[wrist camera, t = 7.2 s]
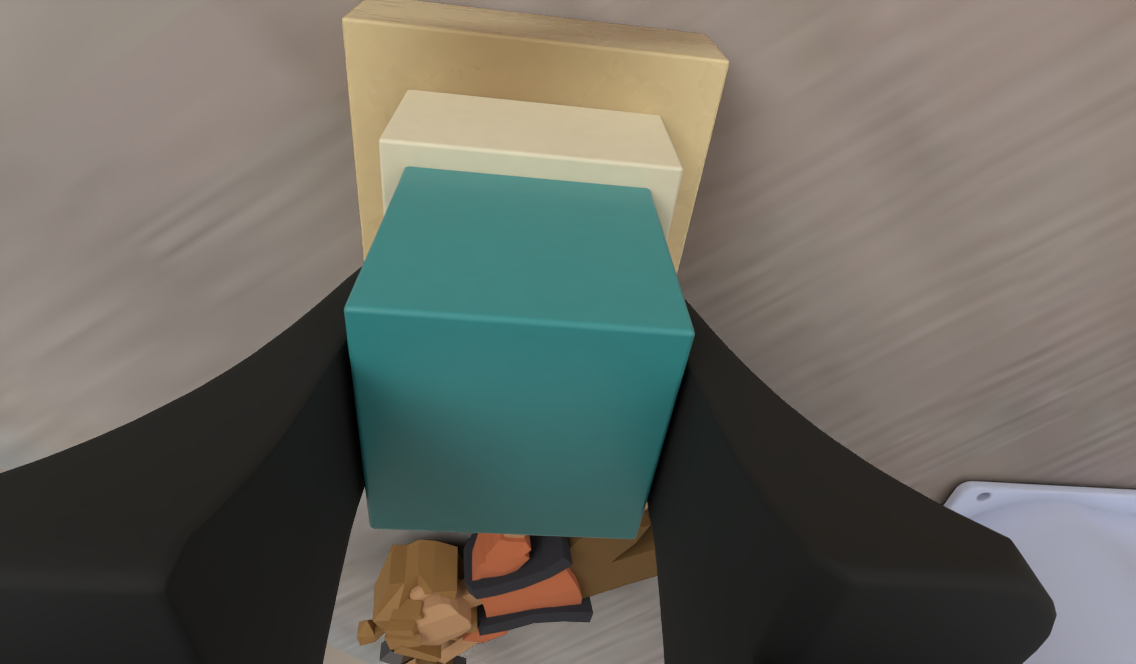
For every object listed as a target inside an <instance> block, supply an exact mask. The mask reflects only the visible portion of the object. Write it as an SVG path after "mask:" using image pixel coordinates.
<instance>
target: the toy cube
mask: <svg viewBox="0 0 1136 664" xmlns="http://www.w3.org/2000/svg"><path fill="white" fill-rule="evenodd" d="M344 316H345V324H346V332H347V341H348V349H349V357H350V365H351V374H352V382H353V390H354V399H355V407H356V415H357V424H358V432H359V440H360V448H361V457H362V465H363V473H364V482H365V490H366V498H367V507H368V515H369V523H370V527H371V528H374V529H393V530H417V531H441V532H466V533H490V534H515V535H539V536H564V537H588V538H613V539H635V538H636V537H637V534H638V530H639V527H640V523H641V520H642V516H643V513H644V510H645V506H646V503H647V499H648V496H649V492H650V489H651V485H652V482H653V478H654V475H655V471H656V468H657V464H658V461H659V457H660V454H661V450H662V447H663V443H664V440H665V437H666V433H667V430H668V426H669V423H670V419H671V416H672V412H673V409H674V405H675V402H676V398H677V395H678V391H679V388H680V384H681V381H682V377H683V374H684V370H685V367H686V364H687V360H688V357H689V353H690V350H691V346H692V343H693V339H694V336H695V332H694V328H693V325H692V322H691V319H690V316H689V312H688V309H687V306H686V303H685V300H684V297H683V293H682V290H681V287H680V284H679V281H678V277H677V274H676V271H675V268H674V265H673V261H672V258H671V255H670V252H669V249H668V245H667V242H666V239H665V236H664V233H663V230H662V226H661V223H660V220H659V217H658V214H657V210H656V207H655V204H654V201H653V198H652V194H651V191H650V190H649V189H647V188H639V187H628V186H617V185H606V184H595V183H584V182H574V181H563V180H552V179H541V178H530V177H519V176H508V175H497V174H486V173H475V172H464V171H454V170H443V169H432V168H421V167H410V166H409V167H405V169H404V171H403V174H402V176H401V178H400V181H399V183H398V185H397V188H396V190H395V192H394V194H393V197H392V199H391V201H390V204H389V206H388V208H387V211H386V213H385V215H384V217H383V220H382V222H381V224H380V227H379V229H378V231H377V234H376V236H375V238H374V240H373V243H372V245H371V247H370V250H369V252H368V254H367V257H366V259H365V261H364V264H363V266H362V268H361V270H360V273H359V275H358V277H357V280H356V282H355V284H354V287H353V289H352V291H351V293H350V296H349V298H348V300H347V303H346V305H345V307H344Z"/></svg>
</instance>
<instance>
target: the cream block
mask: <svg viewBox="0 0 1136 664" xmlns="http://www.w3.org/2000/svg"><path fill="white" fill-rule="evenodd" d="M379 155H380V170H381V185H382V199H383V214H384V215H385V213H386V211H387V208H388V206H389V204H390V201H391V199H392V197H393V194H394V192H395V190H396V188H397V185H398V183H399V181H400V178H401V176H402V174H403V171H404V169H405V167H409V166H410V167H421V168H432V169H443V170H454V171H464V172H475V173H486V174H497V175H508V176H519V177H530V178H541V179H552V180H563V181H574V182H584V183H595V184H606V185H617V186H628V187H639V188H647V189H649V190H650V191H651V194H652V198H653V201H654V204H655V207H656V210H657V214H658V217H659V220H660V223H661V226H662V230H663V233H664V236H665V239H666V242H667V240H668V235H669V231H670V227H671V222H672V218H673V214H674V209H675V205H676V201H677V196H678V192H679V187H680V183H681V179H682V174H683V167H682V165H681V162H680V160H679V158H678V156H677V153H676V151H675V149H674V146H673V144H672V142H671V140H670V137H669V135H668V133H667V130H666V128H665V126H664V124H663V121H662V119H661V117H660V116H659V115H652V114H643V113H633V112H623V111H614V110H604V109H594V108H585V107H575V106H565V105H555V104H546V103H536V102H526V101H517V100H507V99H497V98H487V97H478V96H468V95H458V94H449V93H439V92H429V91H419V90H407V92H406V94H405V95H404V97H403V99H402V101H401V102H400V104H399V106H398V108H397V109H396V111H395V113H394V115H393V116H392V118H391V120H390V122H389V123H388V125H387V127H386V129H385V130H384V132H383V134H382V136H381V137H380V139H379Z"/></svg>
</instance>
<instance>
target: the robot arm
mask: <svg viewBox="0 0 1136 664" xmlns="http://www.w3.org/2000/svg"><path fill="white" fill-rule="evenodd" d="M361 268H362V267H361ZM361 268H359V269H358V270H357V271H356V272H355V273H353V274H352V275H351V276H350V277H348V278H347V279H346V280H345V281H344V282H343V283H341V284H340V285H339V286H338V287H337V288H336V289H335V290H333V291H332V292H331V293H330V294H329V295H328V296H327V297H325V298H324V299H323V300H322V301H321V302H320V303H318V304H317V305H316V306H315V307H314V308H312V309H311V310H310V311H309V312H308V313H306V314H305V315H304V316H303V317H301V318H300V319H299V320H298V321H297V322H295V323H294V324H293V325H292V326H291V327H289V328H288V329H287V330H285V331H284V332H282V333H281V334H280V335H278V336H277V337H276V338H274V339H273V340H272V341H270V342H269V343H267V344H266V345H265V346H263V347H262V348H261V349H259V350H258V351H257V352H255V353H254V354H252V355H251V356H249V357H248V358H246V359H245V360H243V361H242V362H240V363H239V364H237V365H236V366H234V367H233V368H231V369H229V370H228V371H226V372H224V373H223V374H221V375H219V376H218V377H216V378H214V379H213V380H211V381H209V382H208V383H206V384H204V385H202V386H201V387H199V388H197V389H195V390H194V391H192V392H190V393H188V394H186V395H184V396H182V397H180V398H178V399H176V400H174V401H172V402H170V403H168V404H166V405H164V406H162V407H160V408H158V409H156V410H154V411H152V412H150V413H148V414H146V415H144V416H142V417H140V418H138V419H136V420H134V421H132V422H130V423H128V424H126V425H123V426H121V427H119V428H116V429H114V430H112V431H110V432H107V433H105V434H103V435H100V436H98V437H96V438H93V439H91V440H88V441H86V442H84V443H81V444H79V445H76V446H74V447H71V448H69V449H66V450H64V451H61V452H59V453H56V454H53V455H51V456H48V457H46V458H43V459H40V460H38V461H35V462H32V463H29V464H26V465H23V466H20V467H17V468H14V469H12V470H9V471H6V472H3V473H0V664H323V660H324V654H325V649H326V644H327V639H328V634H329V629H330V624H331V620H332V615H333V610H334V605H335V601H336V596H337V591H338V586H339V581H340V577H341V573H342V568H343V564H344V559H345V555H346V550H347V546H348V541H349V537H350V533H351V528H352V525H353V522H354V518H355V515H356V511H357V508H358V505H359V502H360V499H361V496H362V493H363V490H364V487H365V482H364V473H363V465H362V457H361V448H360V440H359V432H358V424H357V415H356V407H355V399H354V390H353V382H352V374H351V365H350V357H349V349H348V341H347V332H346V324H345V316H344V307H345V305H346V303H347V300H348V298H349V296H350V293H351V291H352V289H353V287H354V284H355V282H356V280H357V277H358V275H359V273H360V270H361ZM684 300H685V299H684ZM685 303H686V306H687V309H688V312H689V316H690V319H691V322H692V325H693V328H694V332H695V336H694V339H693V343H692V346H691V350H690V353H689V357H688V360H687V364H686V367H685V370H684V374H683V377H682V381H681V384H680V388H679V391H678V395H677V398H676V402H675V405H674V409H673V412H672V416H671V419H670V423H669V426H668V430H667V433H666V437H665V440H664V443H663V447H662V450H661V454H660V457H659V461H658V464H657V468H656V471H655V475H654V478H653V482H652V485H651V489H650V492H649V496H648V499H647V504H648V509H649V514H650V519H651V525H652V531H653V537H654V545H655V555H656V565H657V575H658V585H659V596H660V608H661V621H662V633H663V645H664V660H665V664H1136V490H1131V489H1113V488H1094V487H1075V486H1056V485H1037V484H1018V483H999V482H981V481H967V482H964V483H962V484H960V485H959V486H958V487H957V488H956V489H955V490H954V492H953V493H952V494H951V496H950V497H949V498H948V500H947V501H946V503H945V504H944V505H941V504H939V503H937V502H935V501H933V500H931V499H929V498H928V497H926V496H924V495H922V494H921V493H919V492H917V491H915V490H913V489H912V488H910V487H908V486H906V485H905V484H903V483H901V482H899V481H898V480H896V479H894V478H892V477H891V476H889V475H887V474H886V473H884V472H883V471H881V470H879V469H878V468H876V467H874V466H873V465H871V464H869V463H868V462H866V461H865V460H863V459H862V458H860V457H859V456H857V455H856V454H854V453H853V452H851V451H850V450H848V449H847V448H845V447H844V446H843V445H841V444H840V443H838V442H837V441H835V440H834V439H832V438H831V437H829V436H828V435H827V434H825V433H824V432H823V431H821V430H820V429H818V428H817V427H816V426H815V425H813V424H812V423H811V422H809V421H808V420H807V419H806V418H804V417H803V416H802V415H801V414H799V413H798V412H797V411H796V410H794V409H793V408H792V407H791V406H789V405H788V404H787V403H786V402H785V401H783V400H782V399H781V398H780V397H779V396H778V395H776V394H775V393H774V392H773V391H772V390H771V389H770V388H769V387H768V386H767V385H766V384H765V383H763V382H762V381H761V380H760V379H759V378H758V377H757V376H756V375H755V374H754V373H753V372H752V371H751V370H750V369H749V368H748V367H747V366H746V365H745V364H744V363H743V362H742V361H741V360H740V359H739V358H738V357H737V356H736V355H735V354H734V353H733V352H732V351H731V350H730V349H729V348H728V347H727V346H726V345H725V344H724V343H723V341H722V340H721V339H720V338H719V337H718V336H717V335H716V334H715V333H714V332H713V330H712V329H711V328H710V327H709V326H708V325H707V324H706V323H705V321H704V320H703V319H702V318H701V317H700V316H699V315H698V313H697V312H696V311H695V310H694V309H693V308H692V307H691V305H690V304H689V303H688V302H687V301H686V300H685Z"/></svg>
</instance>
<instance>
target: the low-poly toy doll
mask: <svg viewBox="0 0 1136 664" xmlns="http://www.w3.org/2000/svg"><path fill="white" fill-rule="evenodd" d="M647 508H648V504H647V503H646V506H645V510H644V513H643V516H642V520H641V523H640V527H639V530H638V534H637V537H636V538H635V539H613V538H588V537H564V536H539V535H515V534H490V533H473V534H472V535H471V537H470V539H469V540H468V542H467V544H466V545H465V547H464V561H463V559H462V557H461V556H460V555H459V554H458V547H456V546H453V545H449V544H445V543H442V542H438V541H433V540H417V541H415V542H413V543H411V544H408V545H392V548H391V550H390V552H389V554H388V557H387V559H386V561H385V563H384V566H383V568H382V570H381V572H380V575H379V577H378V579H377V582H376V584H375V591H374V610H373V620H365V621H361V622H359V627H358V634H357V638H358V641H359V643H360V645H364V644H368V643H372V642H375V641H376V640H377V639H379V638H380V637H381V636H382V635H383V634H384V633H386V635H385V641H384V642H382V643H381V652H380V661H383V662H386V663H389V664H466V658H463V657H460V656H457V655H459V654H460V653H462V652H464V651H465V650H467V649H469V648H470V647H472V646H473V645H475V644H477V643H478V642H479V643H484V642H486V641H489V640H491V639H494V638H496V637H499V636H502V635H504V634H506V633H507V632H508V630H511V629H514V628H518V627H522V626H525V625H529V624H532V623H541V622H559V621H568V622H590V620H591V617H592V614H593V611H592V606H591V601H590V598H589V597H590V596H593V595H596V594H599V593H602V592H605V591H608V590H611V589H615V588H618V587H621V586H624V585H627V584H630V583H634V582H637V581H641V580H644V579H648V578H651V577H655V576H658V575H657V565H656V555H655V545H654V537H653V531H652V525H651V520H650V518H649V515H648V511H647Z"/></svg>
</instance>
